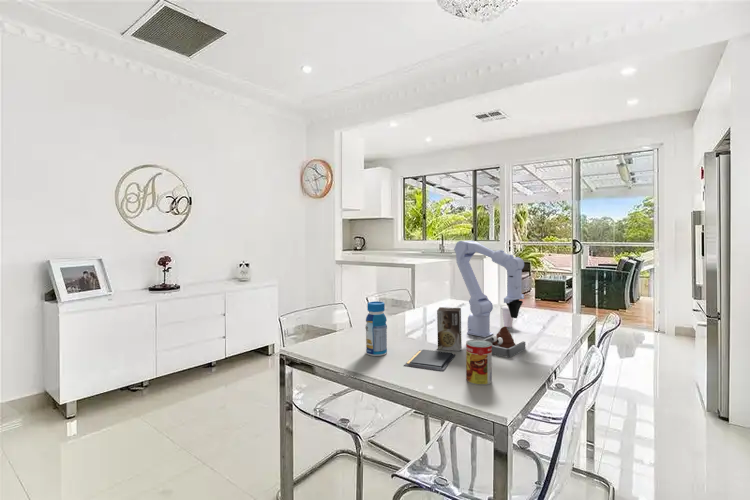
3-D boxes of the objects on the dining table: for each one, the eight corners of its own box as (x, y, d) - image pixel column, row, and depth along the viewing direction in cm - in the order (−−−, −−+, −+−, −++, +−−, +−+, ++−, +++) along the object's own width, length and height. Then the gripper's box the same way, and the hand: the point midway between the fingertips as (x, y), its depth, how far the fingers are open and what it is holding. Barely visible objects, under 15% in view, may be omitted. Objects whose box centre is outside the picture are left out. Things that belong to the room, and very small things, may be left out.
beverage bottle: (383, 357, 145) (382, 305, 144) (362, 355, 148) (361, 304, 147) (390, 351, 153) (389, 301, 152) (370, 349, 155) (369, 300, 155)
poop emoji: (521, 351, 150) (521, 327, 150) (503, 353, 148) (503, 329, 147) (504, 344, 160) (504, 322, 160) (487, 346, 157) (487, 324, 157)
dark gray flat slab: (443, 368, 129) (401, 362, 136) (443, 373, 129) (401, 367, 136) (457, 351, 147) (419, 346, 154) (457, 356, 147) (419, 351, 154)
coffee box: (461, 346, 157) (461, 307, 156) (460, 351, 151) (459, 310, 150) (439, 344, 160) (439, 306, 159) (437, 349, 154) (436, 309, 153)
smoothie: (515, 328, 186) (515, 299, 185) (502, 327, 187) (502, 299, 186) (513, 325, 192) (513, 297, 191) (500, 324, 193) (500, 297, 192)
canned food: (466, 374, 127) (466, 338, 126) (491, 376, 124) (491, 340, 124) (465, 383, 119) (465, 345, 118) (491, 386, 117) (491, 347, 116)
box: (475, 349, 153) (475, 342, 153) (493, 342, 163) (493, 335, 162) (509, 357, 143) (509, 349, 143) (525, 349, 153) (525, 341, 152)
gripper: (515, 288, 154) (515, 322, 155) (531, 285, 164) (530, 316, 165) (499, 287, 159) (499, 319, 160) (515, 283, 169) (515, 313, 170)
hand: (514, 317), depth 163 cm, fingers closed
